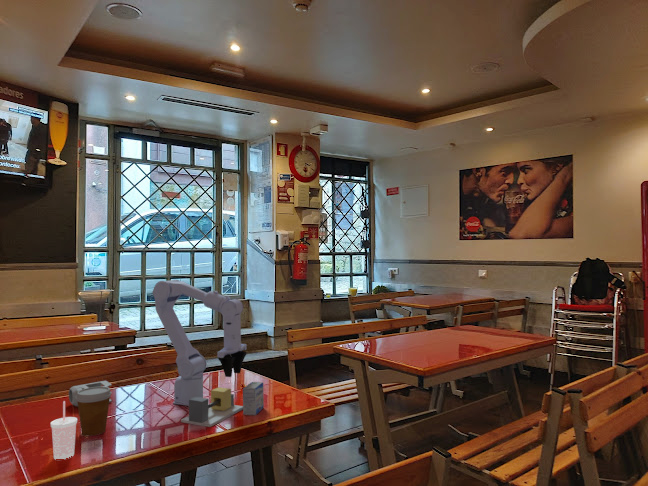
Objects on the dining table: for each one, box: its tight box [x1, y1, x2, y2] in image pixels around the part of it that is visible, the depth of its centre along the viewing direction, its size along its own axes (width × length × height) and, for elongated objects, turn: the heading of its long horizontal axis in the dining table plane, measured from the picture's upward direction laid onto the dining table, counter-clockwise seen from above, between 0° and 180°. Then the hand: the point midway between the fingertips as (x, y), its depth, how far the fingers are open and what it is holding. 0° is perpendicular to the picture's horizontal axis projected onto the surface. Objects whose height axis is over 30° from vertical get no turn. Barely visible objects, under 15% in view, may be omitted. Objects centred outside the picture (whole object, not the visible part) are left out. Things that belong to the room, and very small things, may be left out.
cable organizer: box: [68, 380, 113, 407], centre depth 164 cm, size 7×12×12 cm
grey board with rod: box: [180, 393, 243, 428], centre depth 151 cm, size 11×18×7 cm, turn 156°
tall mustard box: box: [210, 386, 232, 411], centre depth 155 cm, size 5×4×6 cm
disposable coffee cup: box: [76, 386, 113, 437], centre depth 138 cm, size 10×10×12 cm
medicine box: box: [242, 381, 265, 416], centre depth 155 cm, size 8×4×9 cm, turn 168°
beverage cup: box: [50, 400, 78, 460], centre depth 122 cm, size 6×6×14 cm
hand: (232, 374), depth 161 cm, fingers open, 5 cm apart
